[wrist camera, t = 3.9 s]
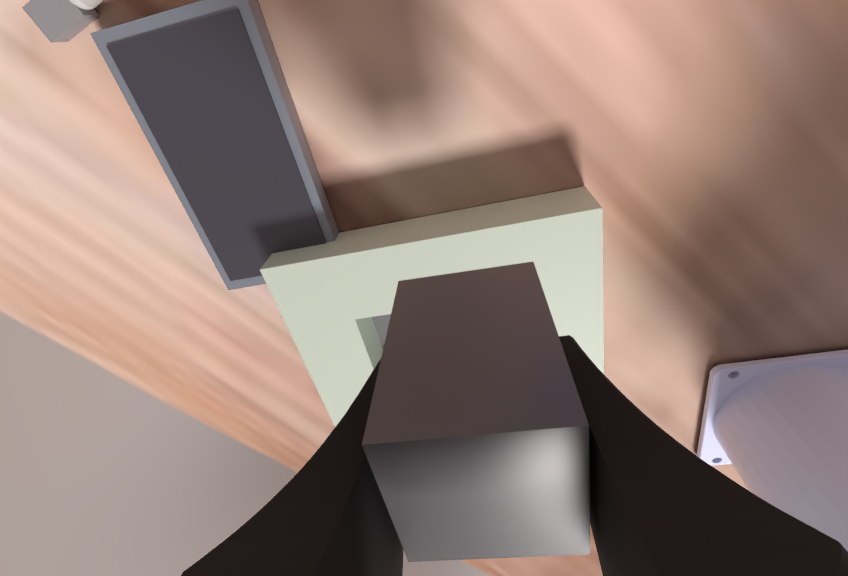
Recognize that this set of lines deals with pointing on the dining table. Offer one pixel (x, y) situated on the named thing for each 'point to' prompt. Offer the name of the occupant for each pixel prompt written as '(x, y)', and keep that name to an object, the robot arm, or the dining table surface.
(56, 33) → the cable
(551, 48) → the dining table surface
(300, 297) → the outlet plate
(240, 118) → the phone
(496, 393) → the grey rectangular block
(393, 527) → the robot arm
